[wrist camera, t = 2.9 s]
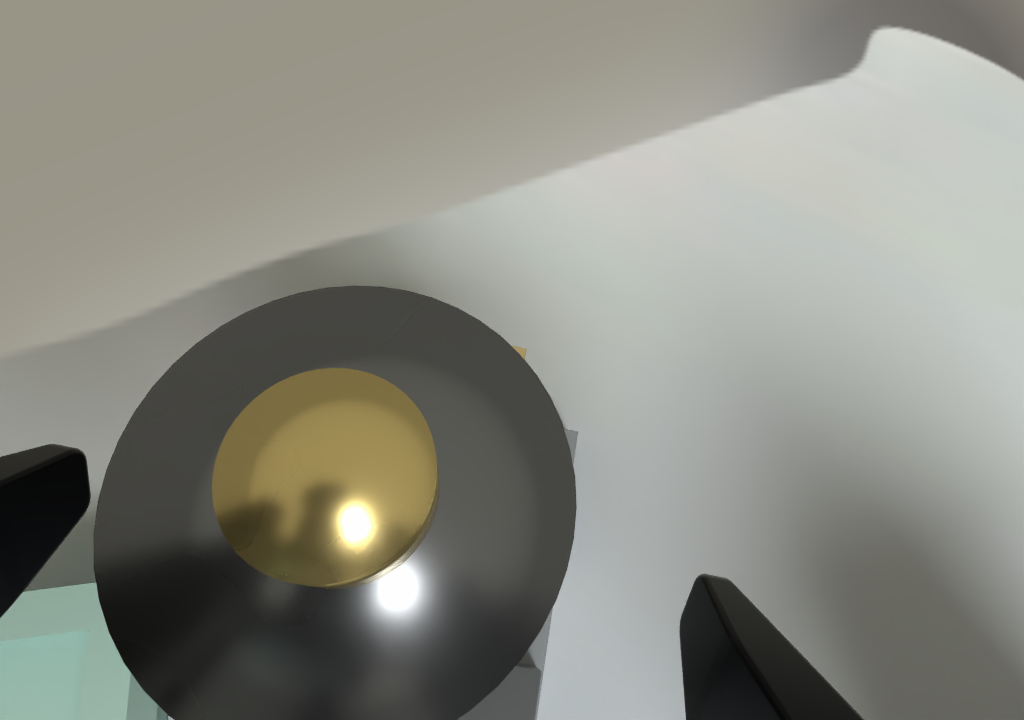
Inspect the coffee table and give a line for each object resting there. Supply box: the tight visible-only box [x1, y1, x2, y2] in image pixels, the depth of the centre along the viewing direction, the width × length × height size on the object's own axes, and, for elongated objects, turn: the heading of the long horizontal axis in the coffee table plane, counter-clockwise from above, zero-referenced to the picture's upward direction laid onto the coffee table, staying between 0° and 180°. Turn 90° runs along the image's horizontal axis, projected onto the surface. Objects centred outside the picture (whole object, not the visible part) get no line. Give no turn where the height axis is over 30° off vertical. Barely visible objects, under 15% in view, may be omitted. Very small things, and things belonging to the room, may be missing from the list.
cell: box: [94, 286, 576, 720], centre depth 10 cm, size 4×4×12 cm
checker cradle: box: [457, 346, 578, 720], centre depth 14 cm, size 9×7×6 cm
